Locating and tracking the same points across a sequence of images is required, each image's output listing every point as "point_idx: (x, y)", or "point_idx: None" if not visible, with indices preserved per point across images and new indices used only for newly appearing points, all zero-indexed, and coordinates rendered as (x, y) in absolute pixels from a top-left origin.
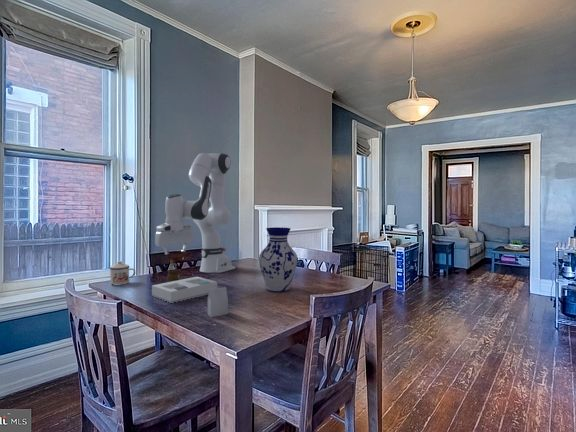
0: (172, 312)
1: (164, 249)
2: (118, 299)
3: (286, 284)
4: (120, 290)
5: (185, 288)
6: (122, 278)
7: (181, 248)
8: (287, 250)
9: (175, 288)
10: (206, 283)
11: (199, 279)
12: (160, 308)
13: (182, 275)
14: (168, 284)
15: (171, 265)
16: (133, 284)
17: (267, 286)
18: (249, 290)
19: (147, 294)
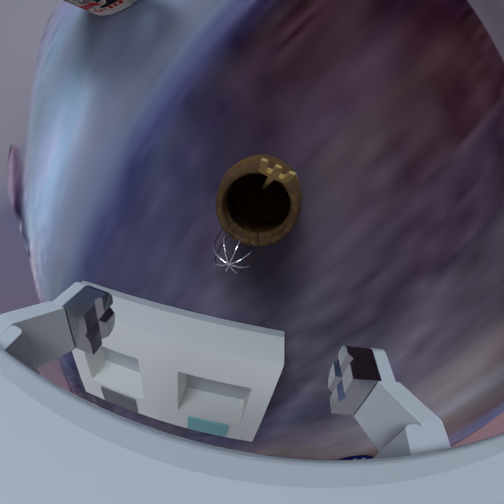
0: (87, 394)
1: (32, 331)
2: (18, 215)
3: None
4: (54, 101)
5: (128, 408)
6: (88, 7)
7: (356, 379)
8: None
9: (103, 392)
10: (208, 432)
11: (251, 390)
12: (74, 365)
13: (437, 90)
14: (106, 346)
15: (267, 175)
16: (134, 32)
17: None
18: (316, 447)
19: (81, 245)
